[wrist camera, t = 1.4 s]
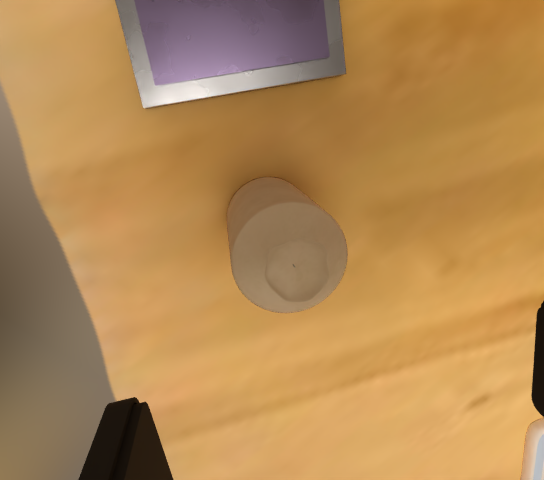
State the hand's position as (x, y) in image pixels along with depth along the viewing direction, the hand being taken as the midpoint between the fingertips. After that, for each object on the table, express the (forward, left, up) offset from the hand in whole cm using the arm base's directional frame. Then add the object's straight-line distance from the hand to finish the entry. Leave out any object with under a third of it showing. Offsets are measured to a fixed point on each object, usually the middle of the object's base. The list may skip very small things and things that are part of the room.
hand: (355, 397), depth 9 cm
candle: (0, 0, -18) cm, 18 cm away
